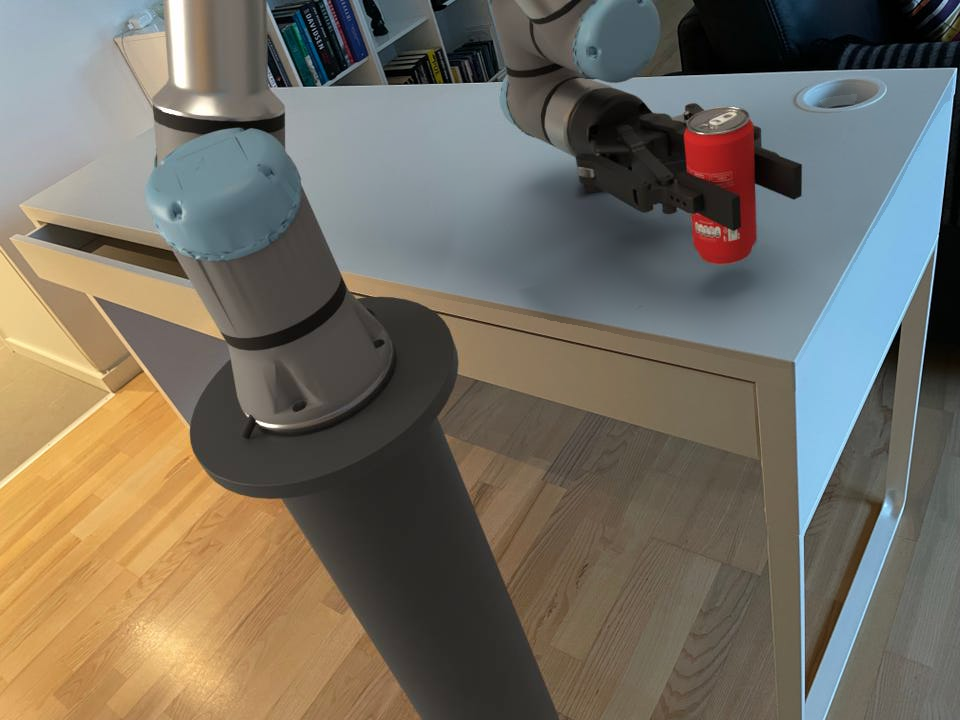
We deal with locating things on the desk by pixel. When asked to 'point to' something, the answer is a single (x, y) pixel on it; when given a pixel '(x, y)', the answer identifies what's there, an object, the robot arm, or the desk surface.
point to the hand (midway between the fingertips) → (767, 197)
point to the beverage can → (723, 179)
